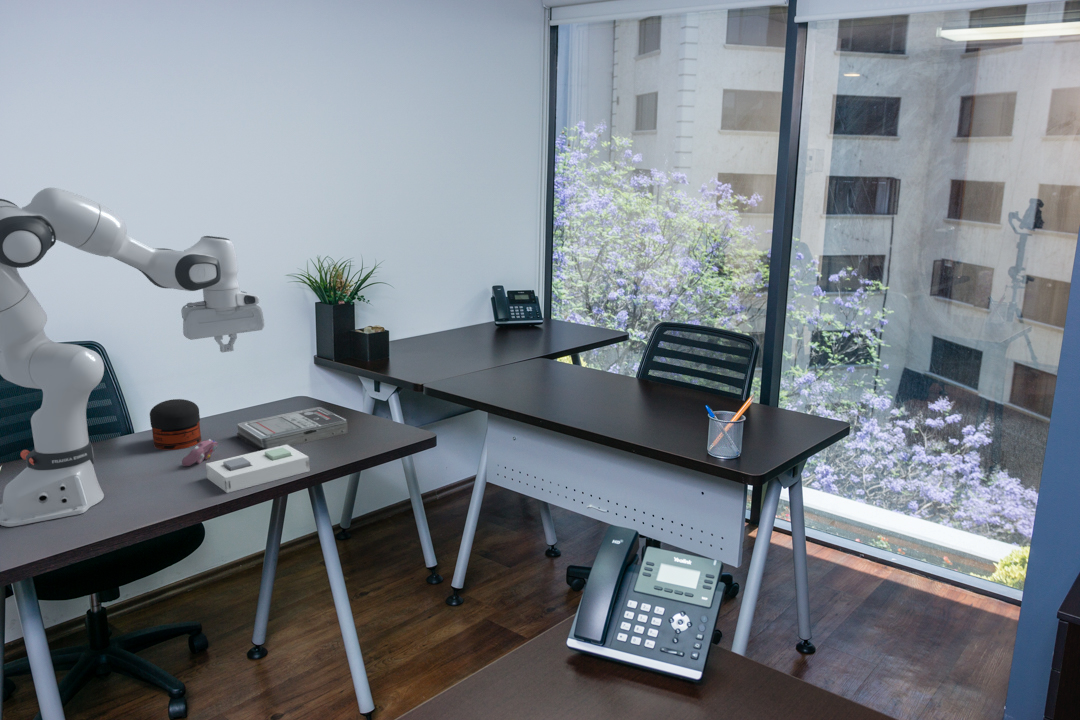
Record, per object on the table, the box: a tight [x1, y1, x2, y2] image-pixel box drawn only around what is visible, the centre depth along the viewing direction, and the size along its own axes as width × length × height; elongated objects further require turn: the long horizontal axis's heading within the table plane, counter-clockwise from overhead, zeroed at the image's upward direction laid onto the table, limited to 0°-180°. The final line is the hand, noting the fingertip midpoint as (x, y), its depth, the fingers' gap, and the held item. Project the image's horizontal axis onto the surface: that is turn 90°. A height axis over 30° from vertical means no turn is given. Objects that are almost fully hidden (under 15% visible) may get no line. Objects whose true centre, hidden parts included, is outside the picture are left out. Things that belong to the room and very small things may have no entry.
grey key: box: [223, 457, 251, 471], centre depth 206 cm, size 5×5×3 cm
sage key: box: [265, 447, 291, 461], centre depth 213 cm, size 5×5×3 cm
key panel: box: [205, 445, 311, 494], centre depth 210 cm, size 22×13×4 cm, turn 132°
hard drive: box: [236, 406, 349, 451], centre depth 241 cm, size 18×27×4 cm
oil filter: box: [149, 398, 202, 451], centre depth 233 cm, size 13×12×13 cm
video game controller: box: [181, 438, 219, 467], centre depth 219 cm, size 10×5×7 cm, turn 169°
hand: (226, 351), depth 211 cm, fingers closed
